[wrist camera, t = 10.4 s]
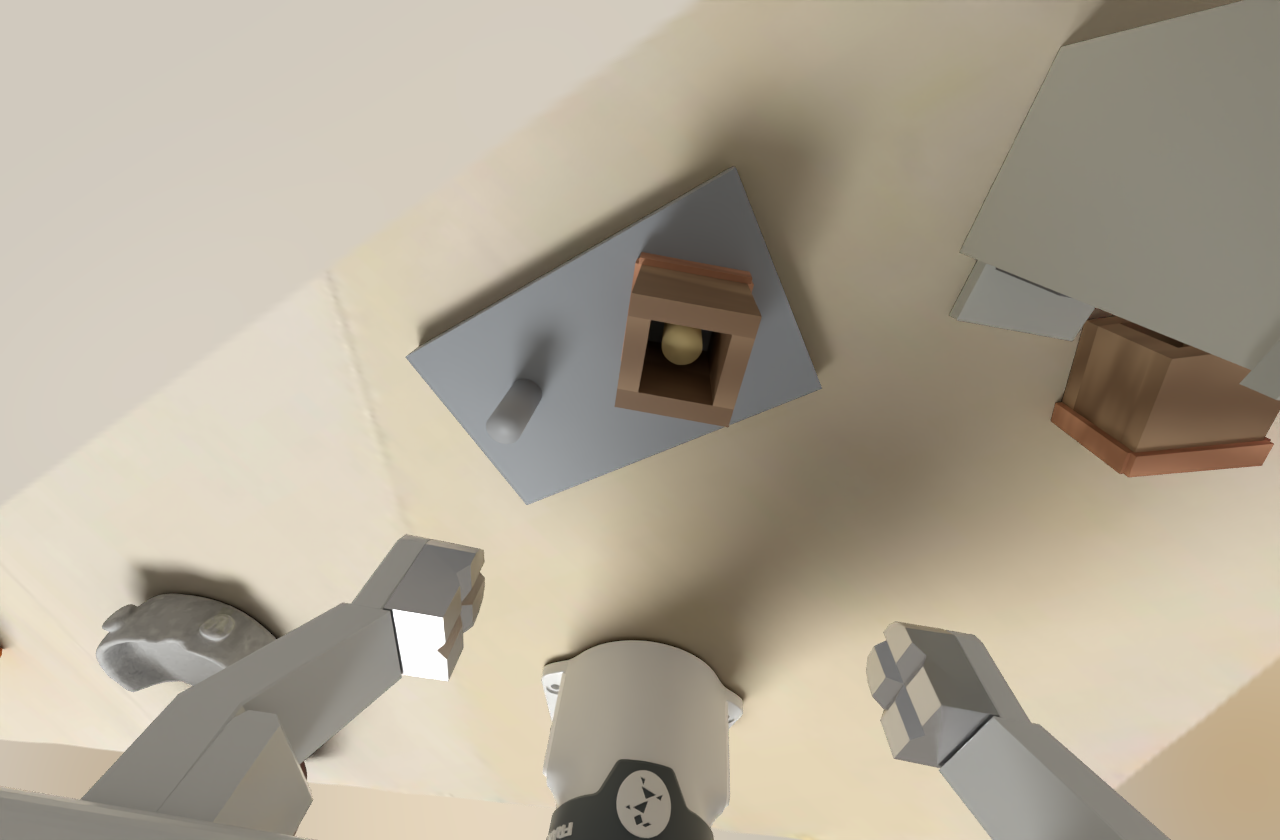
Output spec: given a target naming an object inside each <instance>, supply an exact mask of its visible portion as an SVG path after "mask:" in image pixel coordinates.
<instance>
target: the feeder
mask: <svg viewBox="0 0 1280 840" xmlns="http://www.w3.org/2000/svg"><path fill="white" fill-rule="evenodd" d="M959 253H962V254H964V255H967V256H969V257H972V258H974V259H977V262H976V264H975V266H974V268H973V270H972V272H971V273H970V275H969V277H968V279H967V281H966V283H965V285H964V287H963V289H962V291H961V293H960V295H959V297H958V299H957V301H956V302H955V304H954V306H953V308H952V310H951V312H950V314H949V316H951V317H952V318H954V319H956V320H958V321H964V322H969V323H975V324H980V325H986V326H991V327H997V328H1002V329H1007V330H1013V331H1018V332H1024V333H1029V334H1035V335H1040V336H1046V337H1051V338H1057V339H1062V340H1068V341H1073V340H1074V338H1075V337H1076V335H1077V334H1078V332H1079V331H1080V329H1081V328H1082V326H1083V325H1084V323H1085V322H1086V321H1087V319H1088V318H1089V316H1090V315H1091V313H1092V312H1093V310H1094V309H1095V307H1096V308H1098V309H1101V310H1103V311H1106V312H1108V313H1111V314H1113V315H1116V316H1118V317H1121V318H1123V319H1126V320H1128V321H1131V322H1133V323H1136V324H1138V325H1140V326H1143V327H1145V328H1148V329H1150V330H1153V331H1155V332H1158V333H1160V334H1163V335H1165V336H1168V337H1170V338H1173V339H1175V340H1178V341H1180V342H1183V343H1185V344H1188V345H1190V346H1193V347H1195V348H1198V349H1200V350H1203V351H1205V352H1207V353H1210V354H1212V355H1215V356H1217V357H1220V358H1222V359H1225V360H1227V361H1230V362H1232V363H1235V364H1237V365H1240V366H1242V367H1245V368H1247V369H1250V370H1251V372H1250V373H1249V374H1248V375H1247V376H1246V377H1245V378H1244V379H1243V380H1242V381H1241V382H1240V383H1239V384H1241V385H1243V386H1245V387H1248V388H1250V389H1252V390H1255V391H1257V392H1259V393H1261V394H1264V395H1266V396H1268V397H1271V398H1273V399H1275V400H1280V0H1243V1H1239V2H1235V3H1231V4H1227V5H1223V6H1219V7H1215V8H1212V9H1208V10H1204V11H1200V12H1196V13H1192V14H1188V15H1184V16H1180V17H1176V18H1172V19H1168V20H1164V21H1160V22H1156V23H1153V24H1149V25H1145V26H1141V27H1137V28H1133V29H1129V30H1125V31H1121V32H1117V33H1113V34H1109V35H1105V36H1101V37H1098V38H1094V39H1090V40H1086V41H1082V42H1078V43H1074V44H1070V45H1066V46H1062V47H1061V48H1060V50H1059V52H1058V54H1057V56H1056V58H1055V60H1054V62H1053V64H1052V66H1051V68H1050V70H1049V72H1048V74H1047V76H1046V78H1045V80H1044V82H1043V84H1042V86H1041V88H1040V90H1039V92H1038V94H1037V96H1036V98H1035V100H1034V102H1033V104H1032V106H1031V109H1030V111H1029V113H1028V115H1027V117H1026V119H1025V121H1024V123H1023V125H1022V127H1021V129H1020V131H1019V133H1018V135H1017V137H1016V139H1015V141H1014V143H1013V145H1012V147H1011V149H1010V151H1009V153H1008V155H1007V157H1006V159H1005V161H1004V163H1003V165H1002V167H1001V169H1000V171H999V173H998V175H997V177H996V179H995V181H994V183H993V185H992V187H991V189H990V192H989V194H988V196H987V198H986V200H985V202H984V204H983V206H982V208H981V210H980V212H979V214H978V216H977V218H976V220H975V222H974V224H973V226H972V228H971V230H970V232H969V234H968V236H967V238H966V240H965V242H964V244H963V246H962V248H961V250H960V252H959Z"/></svg>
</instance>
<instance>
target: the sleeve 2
mask: <svg viewBox="0 0 1280 840" xmlns="http://www.w3.org/2000/svg"><path fill="white" fill-rule="evenodd" d="M1250 372H1251V370H1250V369H1247V368H1245V367H1242V366H1240V365H1237V364H1235V363H1232V362H1230V361H1227V360H1225V359H1222V358H1220V357H1217V356H1215V355H1212V354H1210V353H1207V352H1205V351H1203V350H1200V349H1198V348H1195V347H1193V346H1190V345H1188V344H1185V343H1183V342H1180V341H1178V340H1175V339H1173V338H1170V337H1168V336H1165V335H1163V334H1160V333H1158V332H1155V331H1153V330H1150V329H1148V328H1145V327H1143V326H1140V325H1138V324H1136V323H1133V322H1131V321H1128V320H1126V319H1123V318H1121V317H1118V316H1112V317H1105V318H1098V319H1091V320H1087V321H1086V322H1085V323H1084V326H1083V329H1082V333H1081V336H1080V340H1079V343H1078V347H1077V350H1076V354H1075V357H1074V361H1073V364H1072V368H1071V371H1070V375H1069V378H1068V382H1067V385H1066V389H1065V392H1064V396H1063V399H1062V402H1059V403H1056V404H1055V407H1054V411H1053V414H1052V418H1051V422H1053V423H1054V424H1055V425H1057V426H1058V427H1059V428H1060V429H1062V430H1063V431H1064V432H1066V433H1067V434H1068V435H1070V436H1071V437H1072V438H1074V439H1075V440H1076V441H1077V442H1079V443H1080V444H1081V445H1083V446H1084V447H1085V448H1087V449H1088V450H1089V451H1091V452H1092V453H1093V454H1095V455H1096V456H1097V457H1098V458H1100V459H1101V460H1102V461H1104V462H1105V463H1106V464H1108V465H1109V466H1110V467H1112V468H1113V469H1114V470H1115V471H1117V472H1118V473H1119V474H1125V475H1126V476H1127V477H1137V476H1148V475H1160V474H1171V473H1182V472H1194V471H1205V470H1217V469H1228V468H1239V467H1251V466H1262V464H1263V462H1264V461H1265V459H1266V457H1267V455H1268V454H1269V452H1270V450H1271V448H1272V447H1273V445H1274V444H1273V443H1271V442H1270V441H1271V440H1270V439H1268V438H1266V437H1265V436H1266V434H1267V432H1268V430H1269V429H1270V427H1271V425H1272V423H1273V421H1274V419H1275V418H1276V416H1277V414H1278V412H1279V410H1280V400H1275V399H1273V398H1271V397H1268V396H1266V395H1264V394H1261V393H1259V392H1257V391H1255V390H1252V389H1250V388H1248V387H1245V386H1243V385H1241V384H1239V383H1240V382H1241V381H1242V380H1243V379H1244V378H1245V377H1246V376H1247V375H1248V374H1249V373H1250Z"/></svg>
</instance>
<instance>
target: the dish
mask: <svg viewBox="0 0 1280 840" xmlns="http://www.w3.org/2000/svg"><path fill="white" fill-rule="evenodd" d="M102 628H103V629H104V630H106V631H109V633H108V634H107V635H106V637H105V638H104V639H103V640H102V641H101V643H100V644H99V646H98V648H97V650H96V658H97V660H98V662H99V664H100V666H101V667H102V669H103V670H104V671H105V672H106V674H107V675H108V676H109V677H110V678H111V679H113V680H114V681H116V682H117V683H118V684H120V685H121V686H122V687H123V688H125V689H126V690H128V691H131V692H135V691H139V690H141V689H144V688H147V687H150V686H152V685H156V684H159V683H163V682H172V681H183V682H185V683H187V684H191V685H193V686H194V685H196V684H198V683H199V682H201V681H203V680H205V679H207V678H208V677H210V676H212V675H214V674H216V673H217V672H219V671H221V670H223V669H224V668H226V667H228V666H230V665H232V664H233V663H235V662H237V661H239V660H241V659H242V658H244V657H246V656H248V655H250V654H251V653H253V652H255V651H257V650H259V649H260V648H262V647H264V646H266V645H267V644H269V643H271V642H273V641H275V640H276V638H275V637H274V636H273V635H272V634H271V633H270V632H269V631H268V630H267V629H265V628H264V627H263V626H262V625H261V624H259V623H258V622H257V621H256V620H254V619H253V618H251V617H250V616H248V615H247V614H245V613H244V612H242V611H240V610H238V609H236V608H234V607H232V606H230V605H227V604H224V603H221V602H219V601H216V600H212V599H208V598H204V597H199V596H193V595H184V594H163V595H158V596H155V597H153V598H151V599H149V600H147V601H146V602H144V603H143V604H141V605H140V606H138V607H137V606H135V605H132V604H130V605H126V606H124V607H122V608H120V609H119V610H117V611H116V612H115V613H113V614H112V615H111V616H110V617H109V618H108V619H107V620H106V621H105V622H104V624H103V626H102Z"/></svg>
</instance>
